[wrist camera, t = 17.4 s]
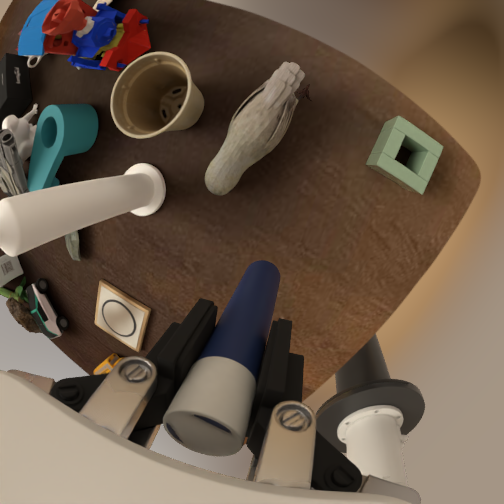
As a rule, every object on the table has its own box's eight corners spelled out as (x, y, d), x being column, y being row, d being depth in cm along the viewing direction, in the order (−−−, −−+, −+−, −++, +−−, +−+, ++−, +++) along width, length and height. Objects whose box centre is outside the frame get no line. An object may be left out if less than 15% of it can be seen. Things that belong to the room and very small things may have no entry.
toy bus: (124, 372, 42) (110, 356, 42) (104, 385, 45) (92, 371, 45) (133, 362, 45) (119, 347, 45) (112, 377, 48) (100, 363, 48)
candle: (162, 219, 35) (2, 304, 12) (121, 209, 36) (-33, 272, 12) (170, 166, 33) (-13, 196, 9) (126, 160, 34) (-43, 185, 10)
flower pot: (188, 60, 28) (156, 36, 20) (233, 106, 29) (210, 88, 21) (138, 109, 31) (97, 100, 23) (177, 157, 32) (140, 157, 24)
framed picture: (151, 308, 40) (148, 312, 39) (140, 350, 44) (137, 353, 43) (102, 278, 40) (98, 281, 39) (96, 321, 44) (93, 324, 43)
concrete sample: (14, 328, 36) (21, 305, 38) (-2, 310, 39) (5, 290, 41) (52, 341, 47) (58, 321, 48) (32, 325, 49) (38, 307, 51)
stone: (80, 263, 37) (64, 261, 39) (89, 260, 39) (72, 257, 41) (72, 183, 34) (56, 187, 36) (82, 183, 36) (65, 185, 37)
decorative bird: (202, 177, 33) (176, 182, 26) (279, 72, 27) (273, 47, 20) (237, 203, 33) (219, 214, 26) (318, 96, 27) (322, 77, 20)
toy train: (99, 17, 26) (38, -10, 12) (171, 21, 26) (110, -28, 12) (72, 69, 30) (4, 55, 16) (139, 82, 30) (60, 56, 16)
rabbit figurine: (36, 102, 33) (-3, 100, 24) (53, 114, 33) (10, 113, 24) (17, 158, 37) (-19, 164, 28) (33, 174, 37) (-7, 182, 28)
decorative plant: (-14, 299, 48) (40, 328, 44) (-27, 275, 43) (23, 299, 39) (-2, 286, 53) (55, 309, 49) (-14, 262, 48) (40, 280, 44)
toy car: (60, 331, 48) (45, 343, 43) (34, 283, 45) (17, 293, 40) (72, 326, 46) (56, 340, 41) (44, 275, 44) (26, 285, 39)
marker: (285, 258, 18) (249, 426, 6) (278, 289, 19) (236, 463, 6) (251, 250, 18) (160, 398, 6) (245, 281, 19) (163, 441, 7)
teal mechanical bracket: (71, 127, 26) (50, 94, 24) (36, 203, 32) (18, 170, 31) (105, 124, 31) (83, 94, 30) (65, 193, 38) (47, 162, 37)
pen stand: (425, 148, 26) (443, 146, 22) (406, 190, 29) (422, 194, 24) (385, 121, 27) (398, 115, 22) (365, 164, 29) (376, 164, 24)
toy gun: (-1, 190, 37) (33, 230, 39) (-26, 114, 20) (3, 152, 22) (11, 179, 39) (45, 218, 41) (-10, 102, 22) (23, 137, 24)
